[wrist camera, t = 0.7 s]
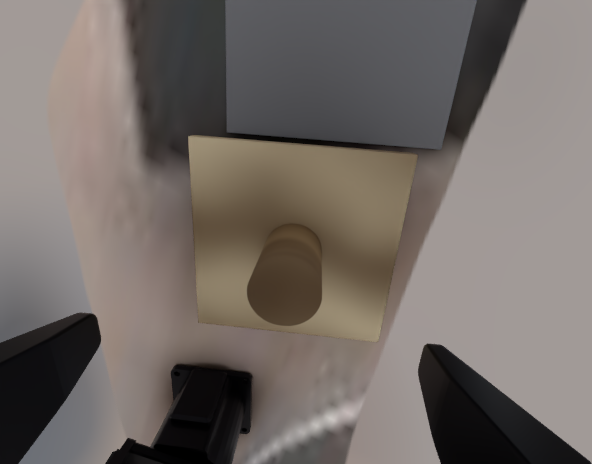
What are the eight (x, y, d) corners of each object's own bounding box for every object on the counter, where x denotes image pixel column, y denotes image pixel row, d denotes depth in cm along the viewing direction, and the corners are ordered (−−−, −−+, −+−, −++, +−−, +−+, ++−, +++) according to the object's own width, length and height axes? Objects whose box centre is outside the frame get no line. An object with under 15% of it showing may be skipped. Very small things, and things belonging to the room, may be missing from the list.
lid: (375, 332, 17) (394, 408, 13) (203, 313, 18) (163, 380, 13) (412, 152, 14) (457, 170, 9) (195, 135, 14) (136, 144, 10)
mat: (437, 148, 17) (441, 149, 17) (229, 131, 18) (226, 132, 17) (505, -142, 13) (513, -154, 12) (227, -153, 13) (223, -164, 13)
